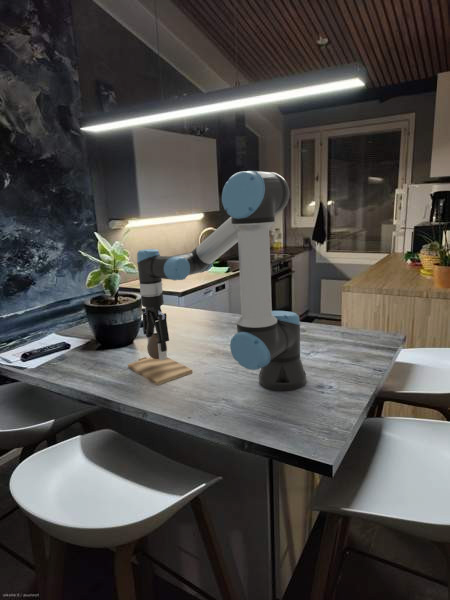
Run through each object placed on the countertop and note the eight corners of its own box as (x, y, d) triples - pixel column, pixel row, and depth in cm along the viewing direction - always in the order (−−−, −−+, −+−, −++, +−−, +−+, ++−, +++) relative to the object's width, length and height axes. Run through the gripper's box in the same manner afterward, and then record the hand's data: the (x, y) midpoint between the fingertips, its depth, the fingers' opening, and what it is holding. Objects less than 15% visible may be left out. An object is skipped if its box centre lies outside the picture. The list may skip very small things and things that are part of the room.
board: (192, 372, 143) (192, 369, 142) (157, 385, 134) (157, 381, 134) (158, 355, 161) (157, 352, 161) (125, 365, 153) (125, 362, 153)
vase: (144, 359, 145) (141, 335, 143) (156, 352, 150) (153, 330, 148) (160, 361, 141) (157, 337, 139) (171, 355, 147) (169, 332, 145)
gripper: (176, 296, 135) (181, 361, 140) (148, 288, 150) (153, 347, 156) (156, 300, 131) (162, 367, 136) (129, 292, 146) (135, 352, 151)
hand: (157, 356), depth 146 cm, fingers closed on vase, 7 cm apart
